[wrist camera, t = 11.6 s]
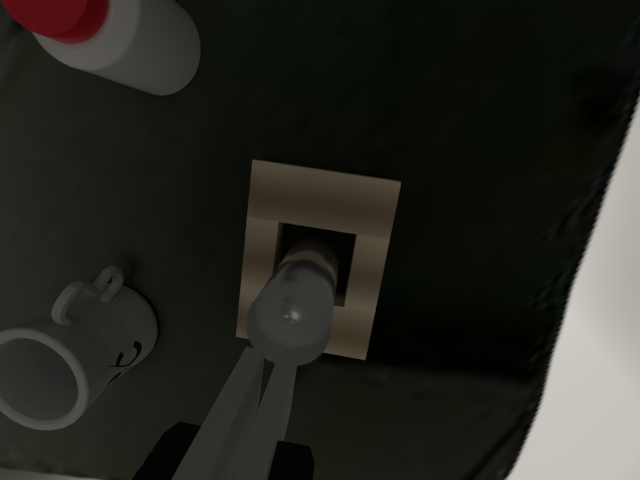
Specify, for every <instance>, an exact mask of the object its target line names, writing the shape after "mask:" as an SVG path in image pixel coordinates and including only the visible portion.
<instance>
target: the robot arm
mask: <svg viewBox="0 0 640 480" xmlns="http://www.w3.org/2000/svg"><path fill="white" fill-rule="evenodd" d="M264 354H265V350H260V349H254V348H249V347H246V348H245V350H244V352H243V354H242V356H241V357H240V359H239V361H238V363H237V364H236V366H235V368H234V370H233V371H232V373H231V375H230V377H229V379H228V380H227V382H226V384H225V386H224V387H223V389H222V391H221V393H220V394H219V396H218V398H217V400H216V401H215V403H214V405H213V407H212V409H211V410H210V412H209V414H208V416H207V417H206V419H205V421H204V423H203V424H202V426H198V425H193V424H188V423H183V422H178V423H177V424H175V425H174V426H173V427H172V428H170V429H169V430H168V431H166V432H165V433H164V434H163V435H162V437H161V438H160V440H159V441H158V442H157V444H156V445H155V447H154V448H153V451H152V452H151V453H150V454H149V456H148V457H147V458H146V460H145V461H144V464H143V466H141V467H140V469H139V470H138V471H137V473H136V474H135V476H134V477H133V479H132V480H231V479H232V476H233V473H234V471H235V468H236V465H237V463H238V460H239V457H240V455H241V452H242V449H243V447H244V444H245V441H246V439H247V441H246V444H245V447H244V449H243V452H242V455H241V457H240V460H239V463H238V465H237V468H236V471H235V473H234V476H233V479H232V480H313V471H314V459H313V456H312V452H311V449H310V446H305V445H300V444H295V443H290V442H285V441H283V440H284V436H285V432H286V428H287V424H288V420H289V416H290V410H291V403H292V396H293V389H294V382H295V375H296V368H297V362H298V356H292V355H287V354H281V353H279V356H278V358H277V361H276V364H275V366H274V369H273V372H272V374H271V377H270V380H269V382H268V385H267V388H266V390H265V393H264V396H263V398H262V401H261V404H260V406H259V409H258V405H259V396H260V388H261V379H262V371H263V362H264ZM257 410H258V412H257ZM256 412H257V414H256ZM255 415H256V417H255ZM254 418H255V420H254ZM253 420H254V422H253ZM252 423H253V425H252ZM251 426H252V428H251ZM250 428H251V430H250ZM249 431H250V433H249ZM248 434H249V436H248ZM247 436H248V438H247Z"/></svg>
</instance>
